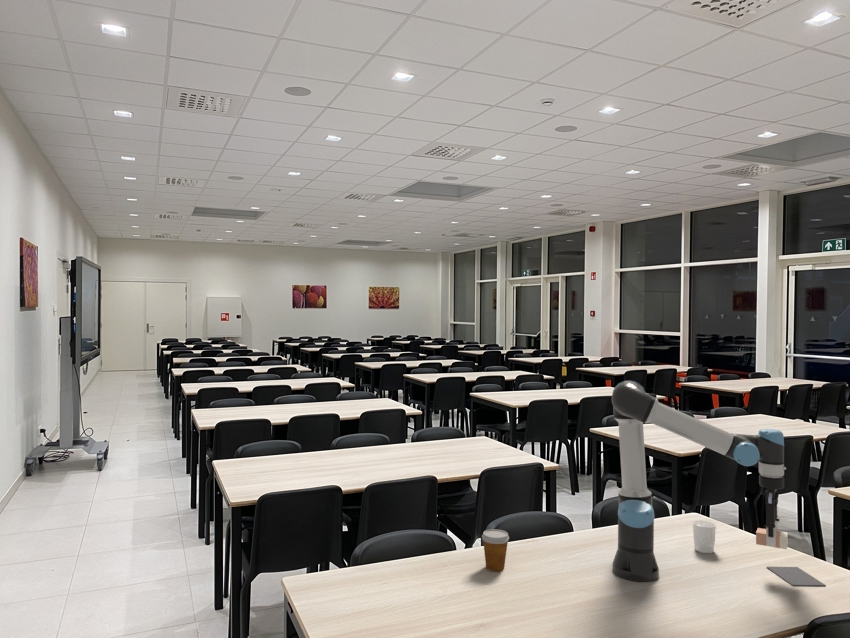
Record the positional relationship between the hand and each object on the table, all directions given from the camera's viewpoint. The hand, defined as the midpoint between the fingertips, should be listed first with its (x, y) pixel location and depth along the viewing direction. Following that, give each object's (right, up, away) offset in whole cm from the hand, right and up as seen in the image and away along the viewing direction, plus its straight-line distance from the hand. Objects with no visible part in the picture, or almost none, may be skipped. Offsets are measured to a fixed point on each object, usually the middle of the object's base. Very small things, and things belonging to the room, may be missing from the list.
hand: (771, 543), depth 208 cm
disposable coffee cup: (-94, -10, +5) cm, 95 cm away
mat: (+8, -11, 0) cm, 14 cm away
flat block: (0, 0, 0) cm, 0 cm away
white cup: (-12, -12, +24) cm, 29 cm away
